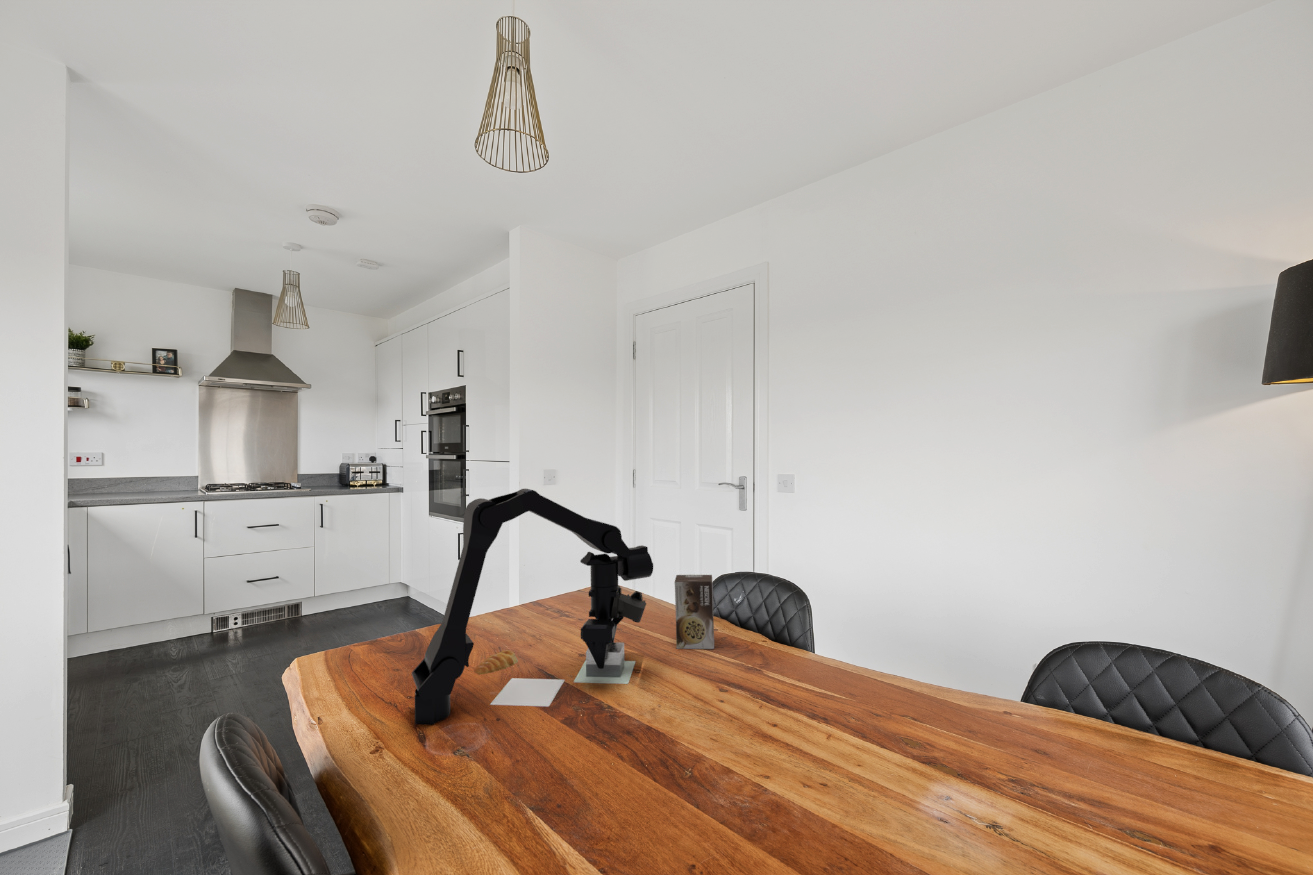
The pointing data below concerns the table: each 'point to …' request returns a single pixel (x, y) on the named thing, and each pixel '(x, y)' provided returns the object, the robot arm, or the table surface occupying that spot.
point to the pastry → (496, 662)
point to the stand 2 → (614, 680)
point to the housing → (607, 662)
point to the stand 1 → (528, 692)
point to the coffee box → (694, 612)
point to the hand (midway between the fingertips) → (605, 659)
